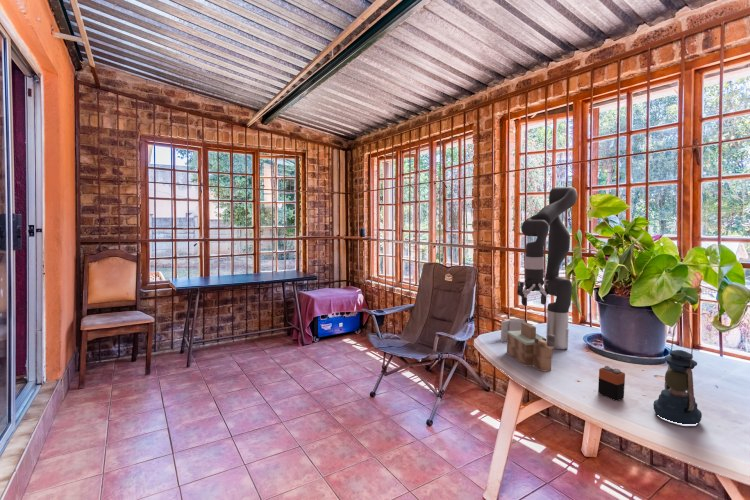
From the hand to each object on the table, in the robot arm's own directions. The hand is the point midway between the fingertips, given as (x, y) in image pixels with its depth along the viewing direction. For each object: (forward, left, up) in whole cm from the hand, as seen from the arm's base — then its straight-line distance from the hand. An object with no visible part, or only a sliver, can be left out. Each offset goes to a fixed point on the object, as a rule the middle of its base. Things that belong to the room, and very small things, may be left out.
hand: (533, 304), depth 168 cm
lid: (+2, -2, -17) cm, 17 cm away
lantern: (-41, +36, -25) cm, 60 cm away
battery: (-25, +26, -25) cm, 44 cm away
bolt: (-5, +10, -14) cm, 18 cm away
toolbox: (0, 0, -24) cm, 24 cm away
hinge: (+9, -27, -25) cm, 38 cm away
